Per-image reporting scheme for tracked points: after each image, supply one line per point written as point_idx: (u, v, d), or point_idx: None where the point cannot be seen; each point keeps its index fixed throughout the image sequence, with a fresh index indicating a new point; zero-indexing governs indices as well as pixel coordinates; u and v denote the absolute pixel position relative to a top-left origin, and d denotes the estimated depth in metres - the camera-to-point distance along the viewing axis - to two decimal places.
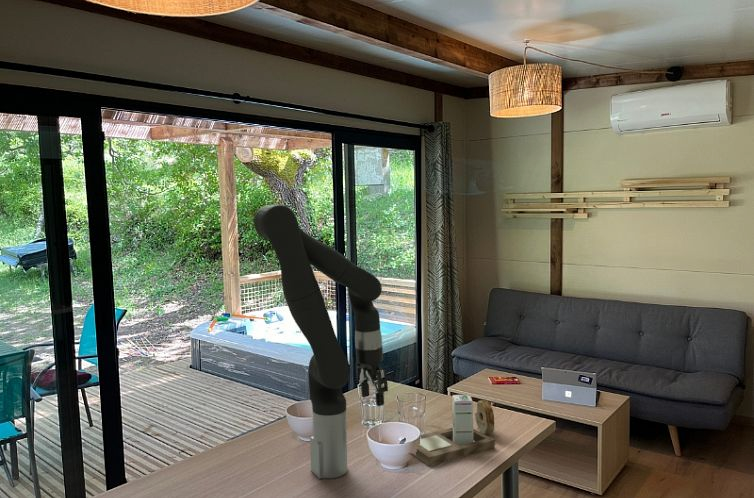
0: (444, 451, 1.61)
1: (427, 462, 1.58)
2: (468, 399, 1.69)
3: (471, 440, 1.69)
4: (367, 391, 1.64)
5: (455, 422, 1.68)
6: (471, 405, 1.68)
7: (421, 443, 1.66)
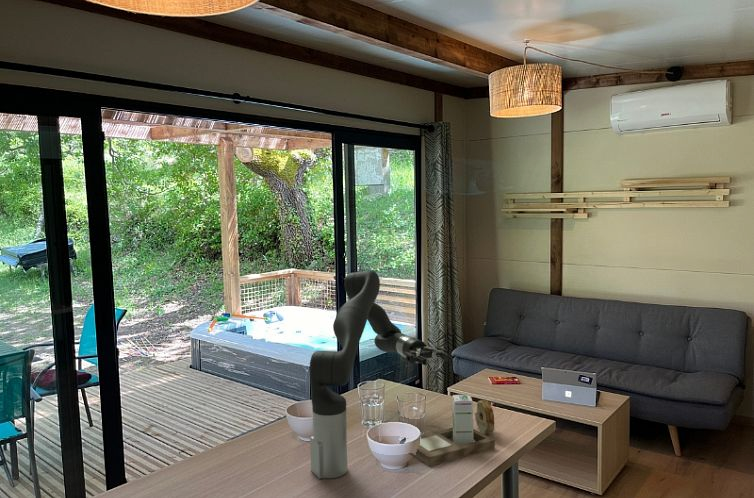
0: (444, 451, 1.61)
1: (427, 462, 1.58)
2: (468, 399, 1.69)
3: (471, 440, 1.69)
4: None
5: (455, 422, 1.68)
6: (471, 405, 1.68)
7: (421, 443, 1.66)
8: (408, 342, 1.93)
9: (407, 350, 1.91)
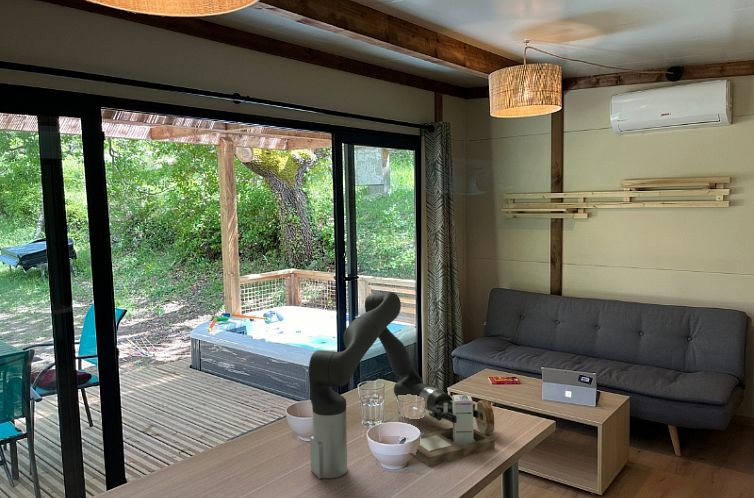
0: (444, 451, 1.61)
1: (427, 462, 1.58)
2: (468, 399, 1.69)
3: (471, 440, 1.69)
4: None
5: None
6: (471, 405, 1.68)
7: (421, 443, 1.66)
8: (433, 395, 1.80)
9: (432, 404, 1.79)
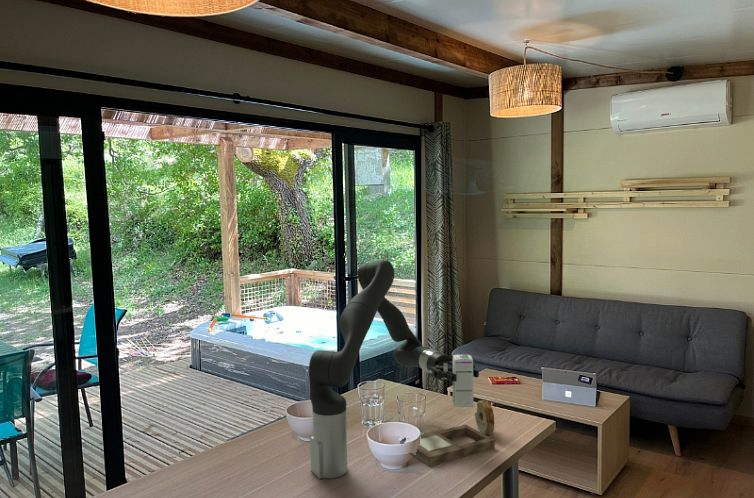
0: (444, 451, 1.61)
1: (427, 462, 1.58)
2: (468, 358, 1.68)
3: (471, 399, 1.68)
4: None
5: (455, 381, 1.68)
6: (471, 364, 1.67)
7: (421, 443, 1.66)
8: (433, 356, 1.79)
9: (432, 365, 1.78)
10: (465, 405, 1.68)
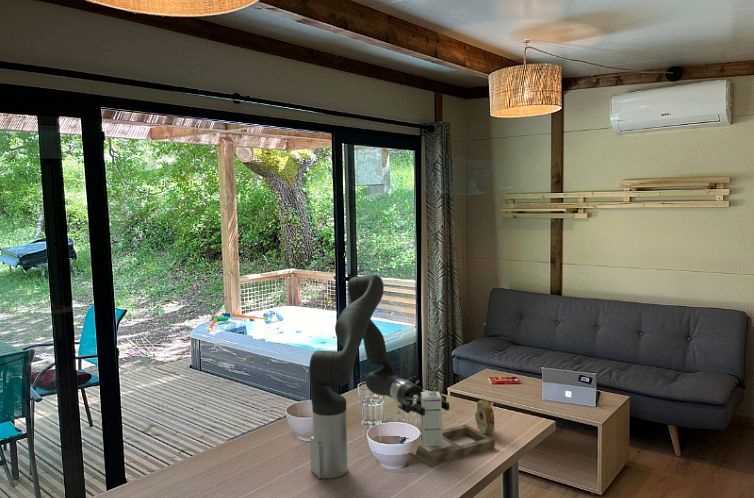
0: (444, 451, 1.61)
1: (427, 462, 1.58)
2: (437, 395, 1.64)
3: (440, 438, 1.64)
4: None
5: (423, 419, 1.63)
6: (440, 401, 1.63)
7: (421, 443, 1.66)
8: (404, 387, 1.75)
9: (402, 397, 1.73)
10: (434, 444, 1.64)
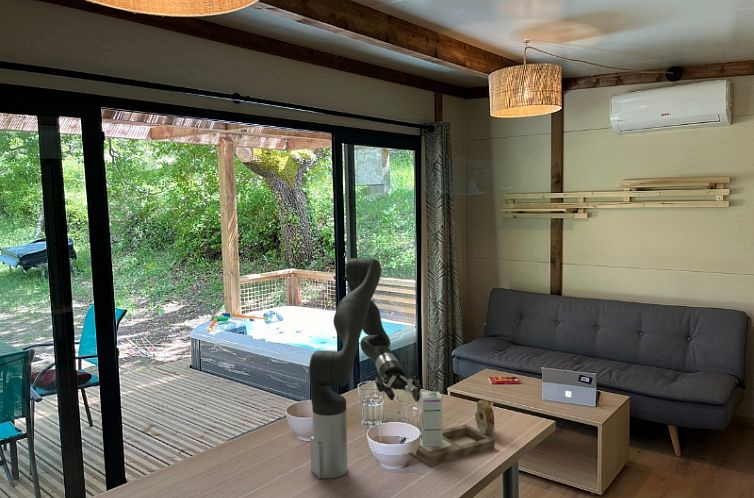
0: (444, 451, 1.61)
1: (427, 462, 1.58)
2: (437, 396, 1.64)
3: (440, 438, 1.64)
4: None
5: (424, 420, 1.63)
6: (440, 402, 1.63)
7: (421, 443, 1.66)
8: (387, 365, 1.85)
9: (383, 373, 1.84)
10: (434, 444, 1.64)
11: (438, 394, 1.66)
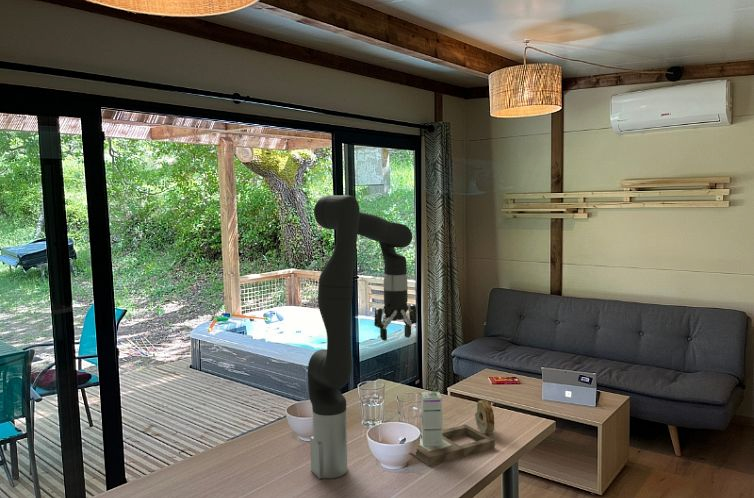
0: (444, 451, 1.61)
1: (427, 462, 1.58)
2: (437, 396, 1.64)
3: (440, 438, 1.64)
4: None
5: (423, 420, 1.63)
6: (440, 402, 1.63)
7: (421, 443, 1.66)
8: (393, 297, 1.76)
9: (386, 301, 1.77)
10: (434, 444, 1.64)
11: (438, 394, 1.66)
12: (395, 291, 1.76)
